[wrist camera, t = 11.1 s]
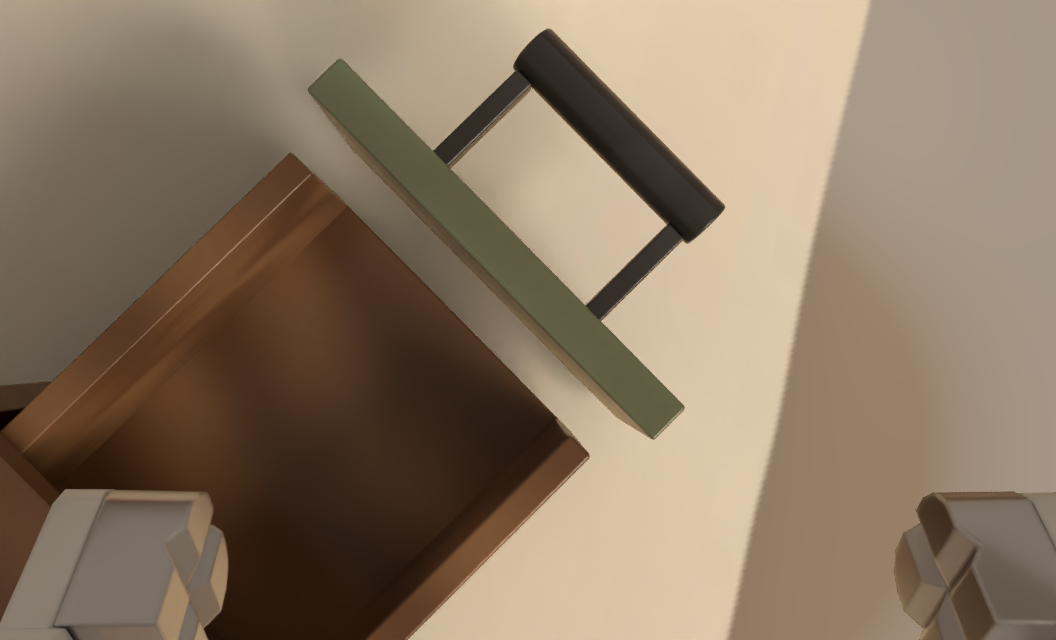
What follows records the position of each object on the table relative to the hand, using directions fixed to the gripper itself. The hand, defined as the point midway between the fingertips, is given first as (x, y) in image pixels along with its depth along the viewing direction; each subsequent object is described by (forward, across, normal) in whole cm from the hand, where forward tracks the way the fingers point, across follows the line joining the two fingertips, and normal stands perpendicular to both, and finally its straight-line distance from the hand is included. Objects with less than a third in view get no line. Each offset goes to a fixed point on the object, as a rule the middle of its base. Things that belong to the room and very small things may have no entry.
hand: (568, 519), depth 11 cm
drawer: (+15, +4, +13) cm, 20 cm away
